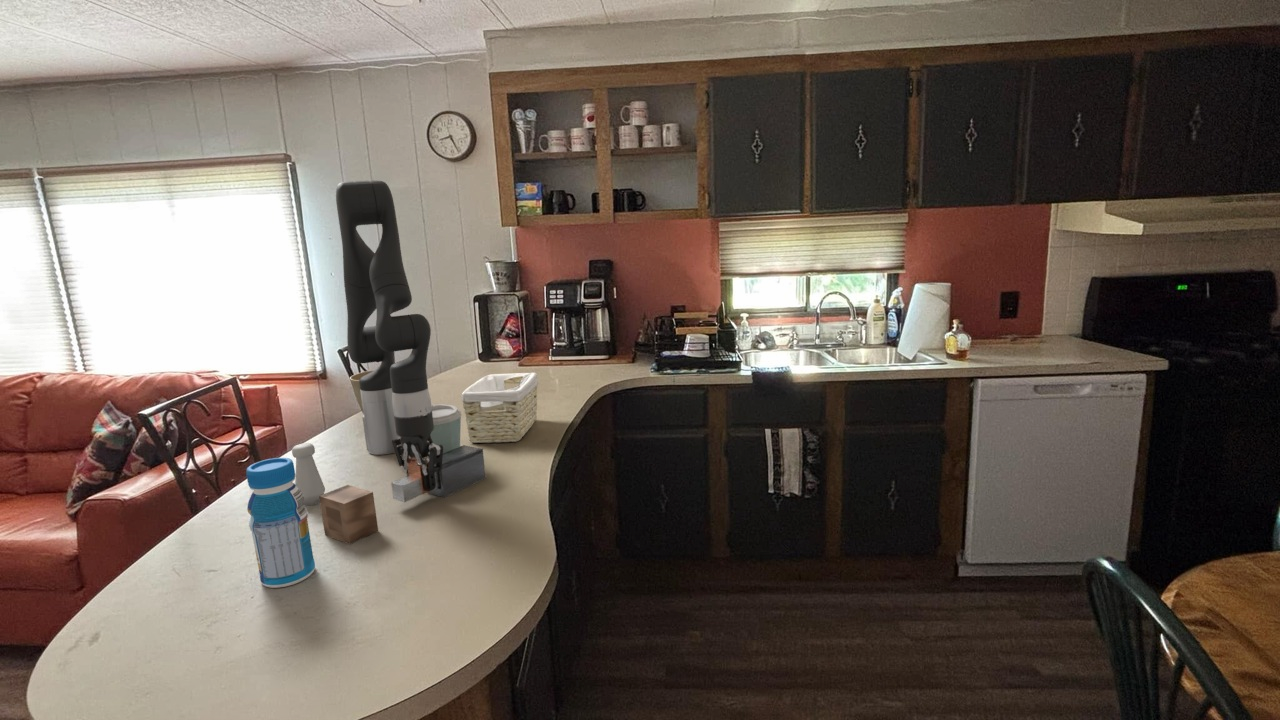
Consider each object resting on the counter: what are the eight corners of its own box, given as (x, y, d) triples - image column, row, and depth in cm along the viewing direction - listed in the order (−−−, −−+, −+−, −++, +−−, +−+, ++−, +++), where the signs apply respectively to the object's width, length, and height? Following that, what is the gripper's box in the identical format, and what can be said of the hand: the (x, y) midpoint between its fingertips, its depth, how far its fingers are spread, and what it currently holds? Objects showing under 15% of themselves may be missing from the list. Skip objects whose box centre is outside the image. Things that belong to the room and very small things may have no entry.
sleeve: (467, 473, 151) (463, 445, 149) (485, 478, 147) (482, 448, 146) (425, 492, 141) (421, 461, 139) (444, 497, 138) (441, 466, 136)
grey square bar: (469, 465, 150) (466, 440, 148) (481, 468, 148) (478, 442, 146) (392, 499, 132) (388, 470, 131) (405, 502, 130) (401, 473, 129)
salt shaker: (332, 498, 140) (323, 441, 137) (309, 509, 135) (300, 450, 132) (314, 494, 142) (305, 439, 140) (290, 505, 137) (281, 447, 135)
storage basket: (490, 420, 195) (485, 372, 192) (543, 418, 193) (539, 371, 191) (464, 446, 171) (458, 392, 168) (523, 444, 170) (519, 391, 167)
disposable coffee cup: (475, 466, 155) (469, 407, 152) (435, 480, 148) (428, 418, 145) (452, 457, 162) (446, 400, 159) (412, 470, 155) (405, 410, 152)
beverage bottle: (277, 595, 102) (256, 477, 98) (249, 582, 107) (228, 468, 103) (327, 570, 109) (309, 459, 105) (299, 559, 114) (281, 452, 110)
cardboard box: (353, 522, 127) (347, 484, 126) (378, 530, 123) (372, 491, 122) (325, 535, 122) (318, 495, 121) (350, 544, 118) (344, 503, 117)
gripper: (375, 411, 134) (386, 488, 137) (420, 419, 126) (430, 500, 129) (405, 402, 140) (414, 476, 143) (450, 409, 132) (459, 487, 135)
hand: (422, 487), depth 136 cm, fingers open, 4 cm apart
